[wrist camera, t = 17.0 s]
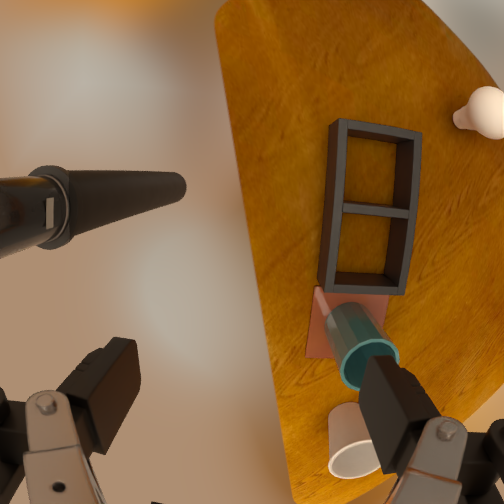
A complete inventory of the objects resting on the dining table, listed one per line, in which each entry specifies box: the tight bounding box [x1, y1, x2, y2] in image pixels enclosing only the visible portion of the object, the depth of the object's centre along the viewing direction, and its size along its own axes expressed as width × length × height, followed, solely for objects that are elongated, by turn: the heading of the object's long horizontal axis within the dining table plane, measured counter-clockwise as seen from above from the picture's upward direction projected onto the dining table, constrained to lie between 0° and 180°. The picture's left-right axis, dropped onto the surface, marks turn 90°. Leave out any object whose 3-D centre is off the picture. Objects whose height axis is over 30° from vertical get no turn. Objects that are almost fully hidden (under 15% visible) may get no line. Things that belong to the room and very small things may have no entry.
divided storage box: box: [317, 118, 422, 295], centre depth 34 cm, size 10×18×5 cm, turn 177°
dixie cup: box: [328, 402, 381, 479], centre depth 39 cm, size 8×8×10 cm
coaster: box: [305, 286, 389, 358], centre depth 40 cm, size 10×10×1 cm
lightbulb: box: [453, 86, 504, 139], centre depth 28 cm, size 6×6×11 cm
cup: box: [324, 302, 400, 391], centre depth 35 cm, size 6×6×10 cm
